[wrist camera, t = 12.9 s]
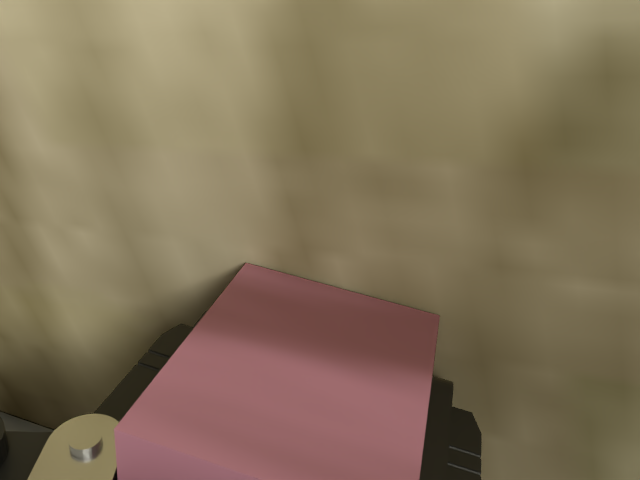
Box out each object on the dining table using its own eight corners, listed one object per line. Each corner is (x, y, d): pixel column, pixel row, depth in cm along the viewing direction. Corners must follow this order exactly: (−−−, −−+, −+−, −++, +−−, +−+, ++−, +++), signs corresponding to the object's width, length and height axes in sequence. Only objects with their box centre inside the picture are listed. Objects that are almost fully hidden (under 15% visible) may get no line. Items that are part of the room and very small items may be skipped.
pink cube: (245, 262, 12) (114, 428, 8) (439, 315, 11) (413, 531, 7) (234, 401, 14) (126, 592, 10) (396, 453, 13) (355, 684, 9)
